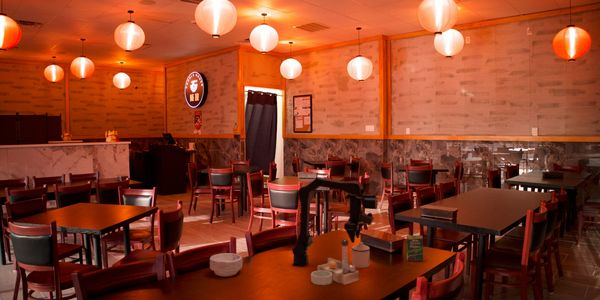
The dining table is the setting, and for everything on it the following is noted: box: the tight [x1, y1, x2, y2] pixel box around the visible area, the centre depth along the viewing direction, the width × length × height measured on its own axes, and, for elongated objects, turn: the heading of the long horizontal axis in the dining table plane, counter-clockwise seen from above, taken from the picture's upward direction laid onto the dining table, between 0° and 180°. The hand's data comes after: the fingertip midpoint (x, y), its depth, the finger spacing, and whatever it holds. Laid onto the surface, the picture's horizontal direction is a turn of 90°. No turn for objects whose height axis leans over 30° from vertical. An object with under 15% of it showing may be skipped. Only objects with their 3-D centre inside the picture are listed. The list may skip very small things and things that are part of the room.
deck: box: [317, 262, 360, 285], centre depth 202 cm, size 18×9×4 cm, turn 39°
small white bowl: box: [310, 270, 333, 286], centre depth 197 cm, size 9×9×4 cm
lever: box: [327, 238, 356, 274], centre depth 201 cm, size 17×7×15 cm, turn 39°
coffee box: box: [406, 234, 424, 262], centre depth 226 cm, size 8×3×13 cm, turn 82°
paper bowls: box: [209, 252, 243, 277], centre depth 209 cm, size 15×15×8 cm
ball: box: [329, 261, 336, 269], centre depth 203 cm, size 4×4×4 cm
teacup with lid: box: [351, 241, 371, 269], centre depth 221 cm, size 12×9×12 cm
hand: (355, 240), depth 211 cm, fingers open, 9 cm apart
